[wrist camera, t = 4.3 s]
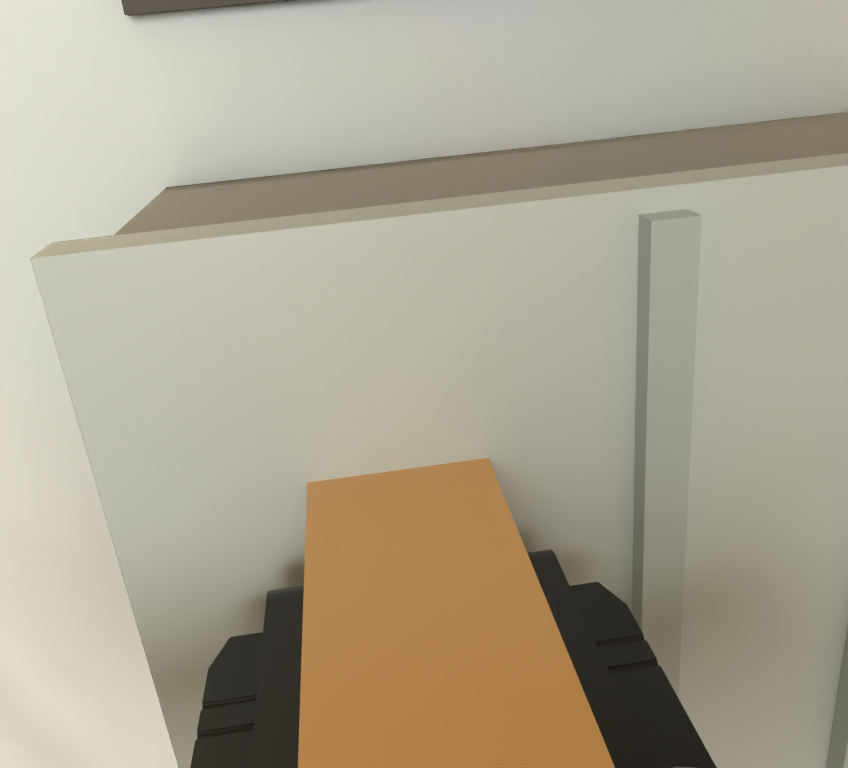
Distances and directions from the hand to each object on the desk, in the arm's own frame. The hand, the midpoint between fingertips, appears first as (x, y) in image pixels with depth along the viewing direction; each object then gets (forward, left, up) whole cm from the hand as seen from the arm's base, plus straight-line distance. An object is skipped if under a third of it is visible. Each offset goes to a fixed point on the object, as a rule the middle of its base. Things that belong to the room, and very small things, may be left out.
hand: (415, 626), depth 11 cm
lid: (-4, 0, -2) cm, 5 cm away
